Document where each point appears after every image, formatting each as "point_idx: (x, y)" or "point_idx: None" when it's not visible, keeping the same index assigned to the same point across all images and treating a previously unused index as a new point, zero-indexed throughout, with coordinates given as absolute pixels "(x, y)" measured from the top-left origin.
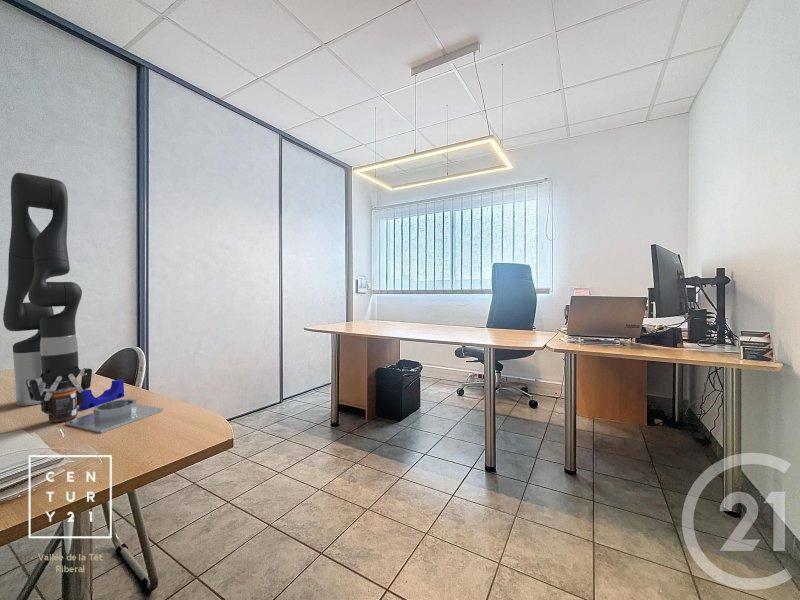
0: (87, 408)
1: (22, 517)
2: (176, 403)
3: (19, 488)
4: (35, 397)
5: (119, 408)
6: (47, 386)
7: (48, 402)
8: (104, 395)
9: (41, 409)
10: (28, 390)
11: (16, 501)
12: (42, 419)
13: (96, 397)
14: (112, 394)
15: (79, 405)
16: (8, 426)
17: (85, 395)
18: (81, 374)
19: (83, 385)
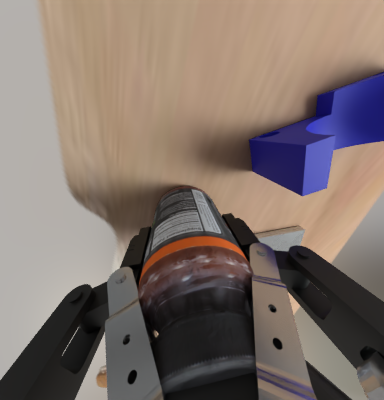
0: (255, 171)
1: (105, 386)
2: None
3: (102, 366)
4: (83, 336)
5: None
6: (128, 350)
7: None
8: (358, 107)
9: (130, 243)
10: (2, 385)
11: (101, 376)
12: (151, 154)
13: (341, 88)
14: (361, 140)
15: (256, 142)
16: (63, 129)
17: (285, 183)
18: (376, 394)
19: (291, 283)
